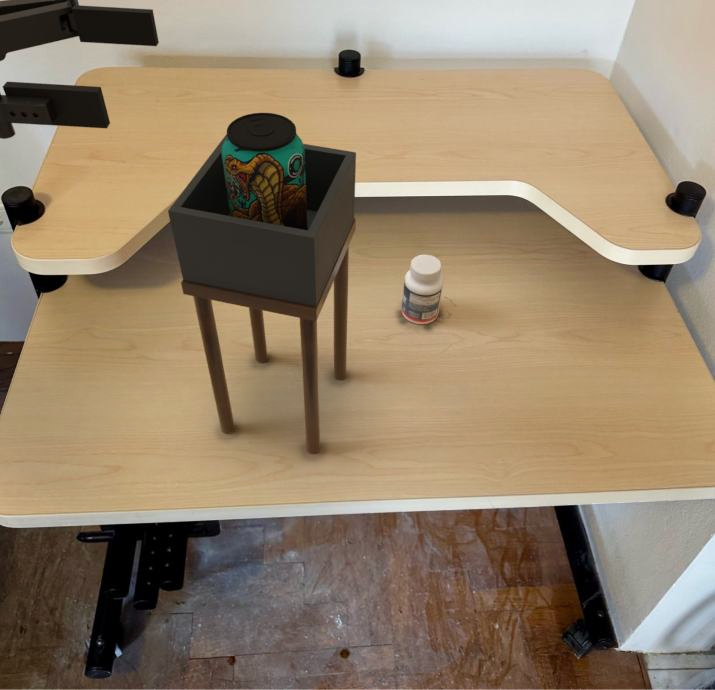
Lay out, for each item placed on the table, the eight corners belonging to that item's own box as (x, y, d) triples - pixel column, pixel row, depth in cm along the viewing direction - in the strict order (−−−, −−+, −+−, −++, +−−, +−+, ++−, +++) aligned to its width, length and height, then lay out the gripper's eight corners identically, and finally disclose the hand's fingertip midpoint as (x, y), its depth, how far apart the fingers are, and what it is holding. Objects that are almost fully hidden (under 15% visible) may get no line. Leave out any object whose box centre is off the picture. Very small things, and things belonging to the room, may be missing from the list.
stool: (320, 459, 77) (316, 309, 59) (214, 434, 79) (180, 282, 61) (351, 370, 86) (355, 218, 69) (256, 349, 88) (236, 196, 71)
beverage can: (246, 274, 61) (231, 159, 52) (226, 230, 66) (209, 116, 57) (318, 257, 63) (315, 142, 54) (294, 215, 67) (288, 102, 59)
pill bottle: (406, 295, 96) (411, 247, 90) (441, 303, 95) (449, 255, 89) (397, 320, 93) (402, 272, 86) (434, 329, 92) (441, 280, 85)
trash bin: (316, 307, 60) (314, 237, 54) (182, 280, 62) (167, 210, 56) (354, 219, 69) (356, 152, 63) (236, 198, 70) (228, 131, 65)
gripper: (-47, 31, 63) (178, 44, 63) (-216, 182, 46) (91, 200, 46) (-83, -58, 57) (163, -45, 57) (-290, 75, 40) (59, 95, 40)
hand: (132, 64), depth 51 cm, fingers open, 13 cm apart
